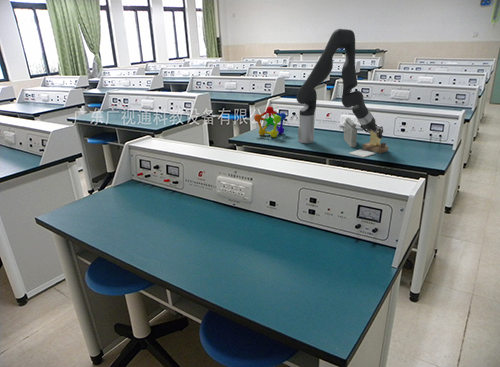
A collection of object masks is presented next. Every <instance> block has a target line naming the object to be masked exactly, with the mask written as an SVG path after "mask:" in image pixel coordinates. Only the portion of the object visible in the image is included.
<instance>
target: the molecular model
mask: <svg viewBox="0 0 500 367" xmlns="http://www.w3.org/2000/svg"><path fill="white" fill-rule="evenodd" d="M267 114H268V117H267V118H264V117H263V116H265V115H267ZM286 118H287V114H286V113H285V112H277V111H275V110H274V108H273V106H271V105H270V106H267V107H266V108H265V111H264V112H262V113H261V114H259V113H257V114H254V116H253V119H254V121H255V122H257V124H258V127H259V130H258V134H259V136H264V135H270V137H271V138H276V137H277V136H278V134H279V135H282V134H284V132H285V128H284V127H283V126H284V125H283V123H284V120H287V119H286ZM261 121H263V122H264V121H265V122H266V123H265V125H264V127H263V126H262V124H261ZM278 123H280V125H279V126H278ZM269 125H272V126H273V129H272V130H270V131H266V129H267V128H268V127H269Z"/></svg>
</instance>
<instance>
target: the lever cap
mask: <svg viewBox="0 0 500 367" xmlns="http://www.w3.org/2000/svg"><path fill="white" fill-rule="evenodd" d="M377 133H378V132H377ZM369 138H370V139H369V142H370V145H372V146H379V145H380V144H381V140H382V138H381V139H379V137H378V136H377V134H376V133H374V132H373V131H371V134H369Z"/></svg>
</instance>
